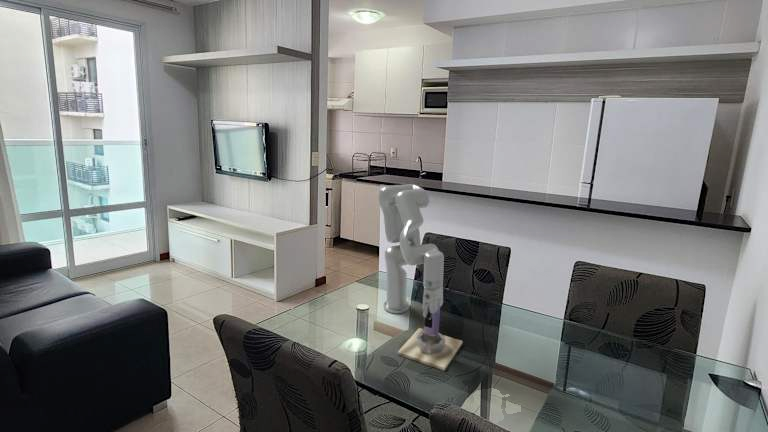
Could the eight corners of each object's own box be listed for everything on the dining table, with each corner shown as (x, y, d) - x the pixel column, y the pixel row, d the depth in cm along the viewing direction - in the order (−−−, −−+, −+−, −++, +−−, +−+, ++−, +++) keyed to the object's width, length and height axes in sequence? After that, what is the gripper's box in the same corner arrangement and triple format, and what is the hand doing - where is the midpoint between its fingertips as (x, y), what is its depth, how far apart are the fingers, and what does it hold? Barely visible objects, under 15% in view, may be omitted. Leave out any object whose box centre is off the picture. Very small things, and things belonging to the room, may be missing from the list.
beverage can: (439, 336, 164) (440, 303, 160) (424, 336, 165) (425, 303, 160) (437, 328, 170) (439, 295, 165) (423, 328, 170) (424, 295, 166)
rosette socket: (397, 354, 166) (397, 343, 165) (419, 330, 183) (419, 320, 181) (444, 370, 156) (444, 359, 155) (462, 343, 173) (463, 333, 172)
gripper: (433, 293, 152) (431, 336, 157) (450, 275, 166) (448, 315, 171) (414, 288, 155) (413, 330, 161) (433, 271, 169) (431, 310, 175)
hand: (431, 322), depth 166 cm, fingers closed on beverage can, 5 cm apart
